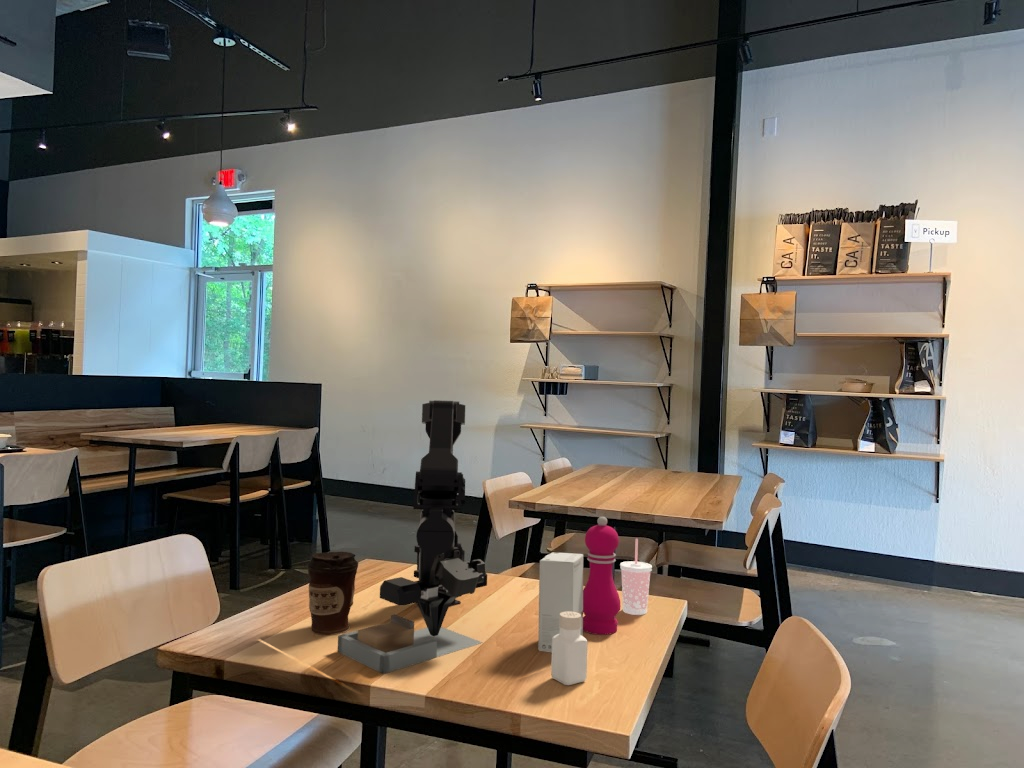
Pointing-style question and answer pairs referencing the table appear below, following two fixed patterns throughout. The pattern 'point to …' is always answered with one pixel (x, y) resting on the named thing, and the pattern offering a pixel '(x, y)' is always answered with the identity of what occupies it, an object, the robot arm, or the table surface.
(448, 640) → the dock
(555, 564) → the skincare box
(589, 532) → the pepper mill
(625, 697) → the table surface
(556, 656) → the salt shaker
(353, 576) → the coffee cup
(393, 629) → the block
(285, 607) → the table surface
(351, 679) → the table surface
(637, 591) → the beverage cup
